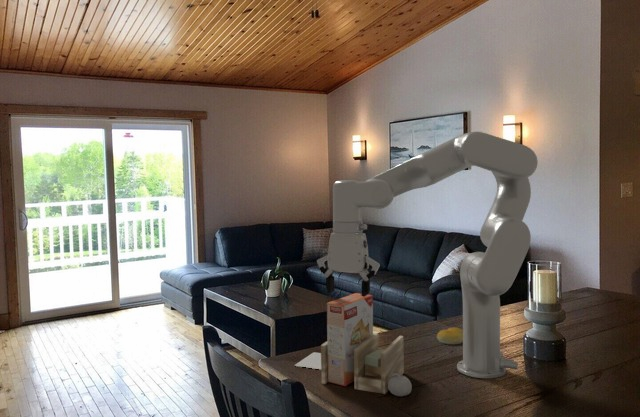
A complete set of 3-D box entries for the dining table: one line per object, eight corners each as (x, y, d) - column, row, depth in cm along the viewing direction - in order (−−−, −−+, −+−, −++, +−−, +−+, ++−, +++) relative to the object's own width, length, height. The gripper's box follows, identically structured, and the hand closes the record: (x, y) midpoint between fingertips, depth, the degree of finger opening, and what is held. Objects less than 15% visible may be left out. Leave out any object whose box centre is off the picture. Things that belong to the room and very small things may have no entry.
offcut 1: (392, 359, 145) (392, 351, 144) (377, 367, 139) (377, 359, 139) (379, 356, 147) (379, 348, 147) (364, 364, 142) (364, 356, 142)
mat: (344, 357, 162) (344, 356, 162) (326, 371, 151) (326, 370, 151) (313, 353, 166) (313, 352, 166) (294, 366, 156) (294, 365, 156)
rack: (403, 373, 149) (403, 336, 148) (385, 393, 135) (384, 353, 134) (344, 364, 156) (344, 329, 155) (321, 383, 143) (320, 345, 142)
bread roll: (431, 340, 177) (431, 328, 176) (452, 335, 181) (452, 323, 181) (450, 347, 169) (450, 334, 169) (471, 342, 174) (471, 329, 174)
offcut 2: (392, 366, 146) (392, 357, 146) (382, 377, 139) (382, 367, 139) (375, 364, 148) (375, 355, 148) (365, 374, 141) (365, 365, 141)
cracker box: (346, 387, 140) (344, 305, 138) (326, 382, 143) (324, 302, 142) (375, 370, 151) (373, 294, 149) (356, 366, 154) (354, 291, 153)
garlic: (383, 396, 134) (382, 374, 134) (393, 388, 139) (392, 367, 138) (406, 401, 131) (405, 379, 130) (415, 393, 135) (415, 372, 135)
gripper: (384, 228, 144) (384, 293, 145) (323, 225, 151) (323, 288, 153) (374, 231, 137) (374, 299, 138) (311, 228, 145) (311, 293, 146)
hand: (347, 293), depth 146 cm, fingers open, 9 cm apart
